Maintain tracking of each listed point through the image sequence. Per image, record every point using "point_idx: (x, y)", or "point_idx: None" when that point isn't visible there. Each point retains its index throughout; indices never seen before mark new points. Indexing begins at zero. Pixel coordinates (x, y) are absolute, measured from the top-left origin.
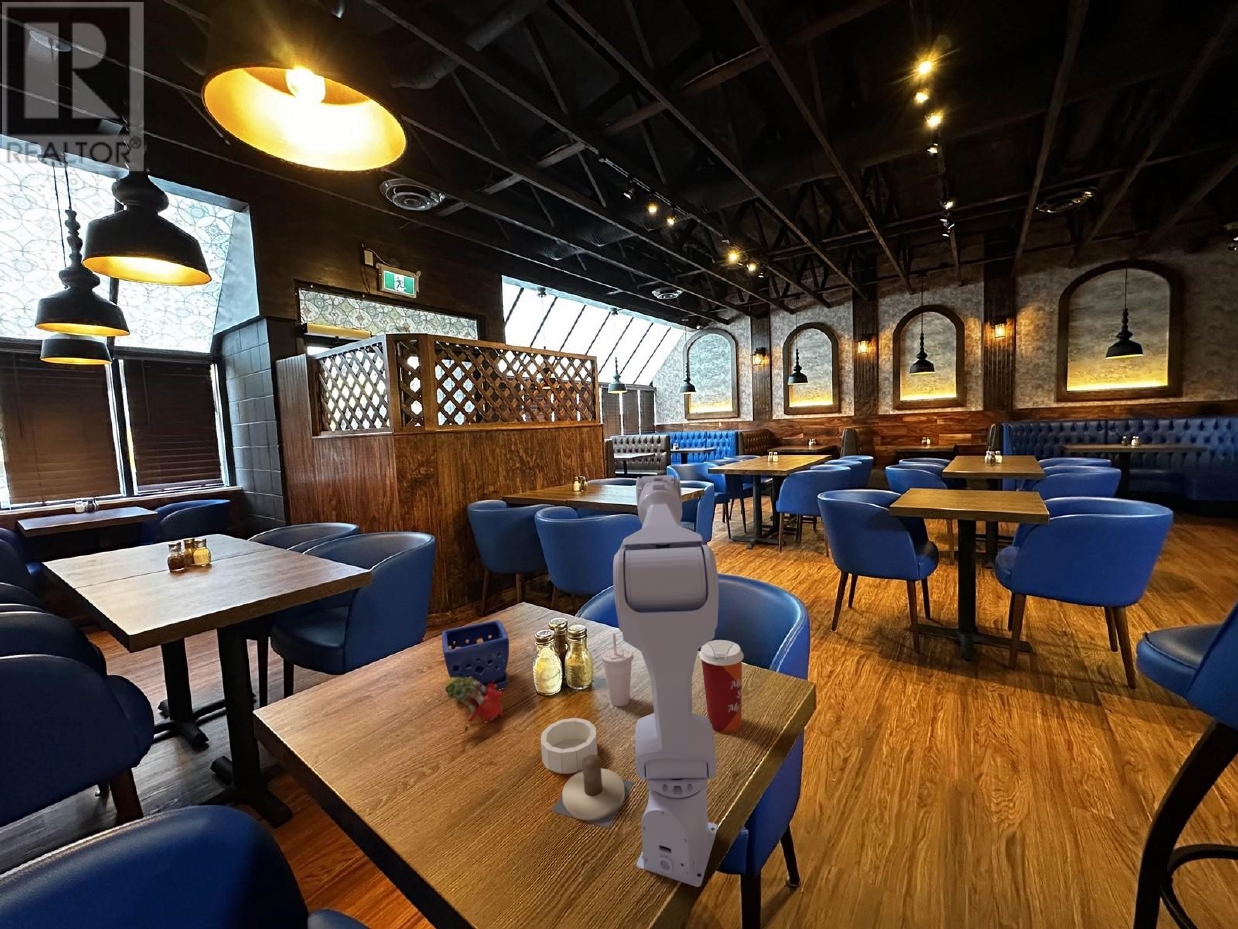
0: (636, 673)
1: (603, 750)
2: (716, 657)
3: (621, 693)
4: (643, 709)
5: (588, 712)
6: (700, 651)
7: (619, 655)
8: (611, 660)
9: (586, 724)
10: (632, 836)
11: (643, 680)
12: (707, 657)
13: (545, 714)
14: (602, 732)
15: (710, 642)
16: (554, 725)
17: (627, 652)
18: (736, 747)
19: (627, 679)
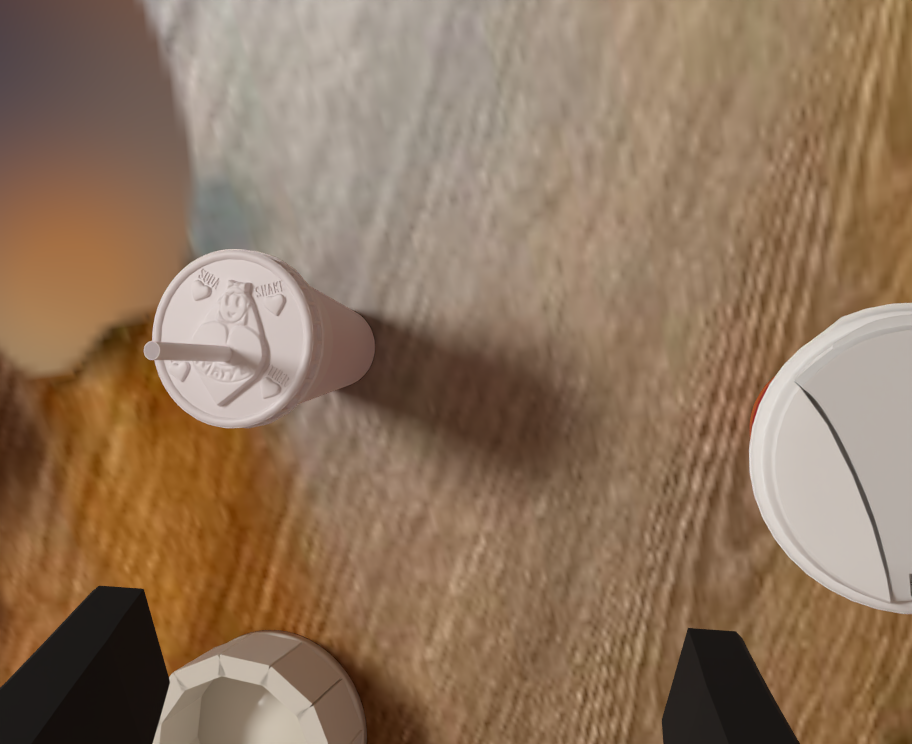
0: (341, 100)
1: (372, 671)
2: (903, 598)
3: (335, 389)
4: (447, 386)
5: (242, 449)
6: (755, 445)
7: (248, 363)
8: (224, 413)
9: (274, 695)
10: None
11: (388, 154)
12: (828, 574)
13: (97, 490)
14: (335, 567)
15: (832, 386)
16: (162, 713)
17: (279, 310)
18: None
19: (337, 369)
